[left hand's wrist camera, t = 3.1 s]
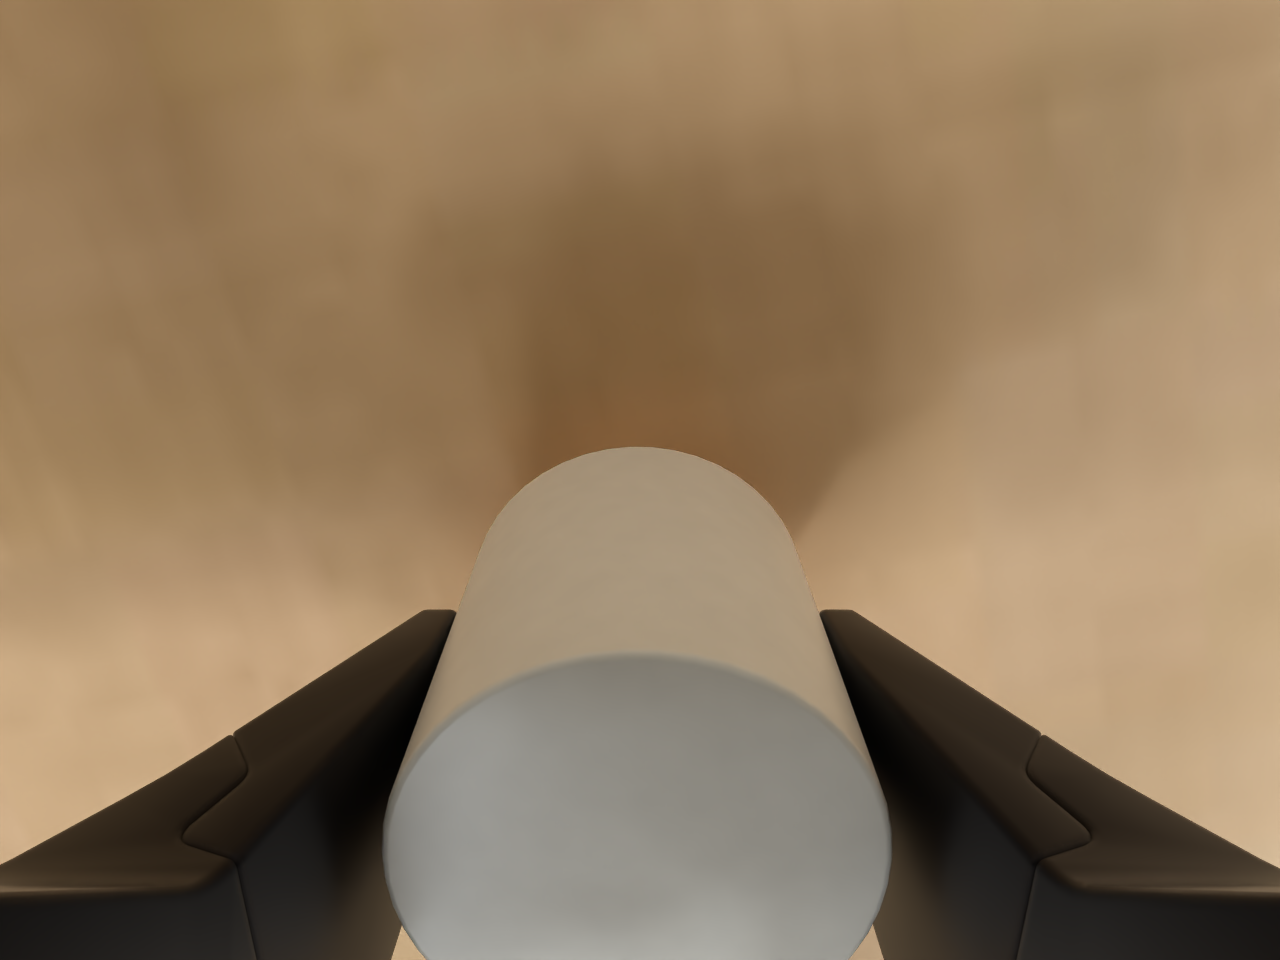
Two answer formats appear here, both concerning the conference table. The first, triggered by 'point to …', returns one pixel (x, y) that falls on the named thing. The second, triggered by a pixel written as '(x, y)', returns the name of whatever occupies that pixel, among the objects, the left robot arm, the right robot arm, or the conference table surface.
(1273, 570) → the conference table surface
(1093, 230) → the conference table surface
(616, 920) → the can
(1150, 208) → the conference table surface
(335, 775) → the left robot arm
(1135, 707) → the conference table surface
